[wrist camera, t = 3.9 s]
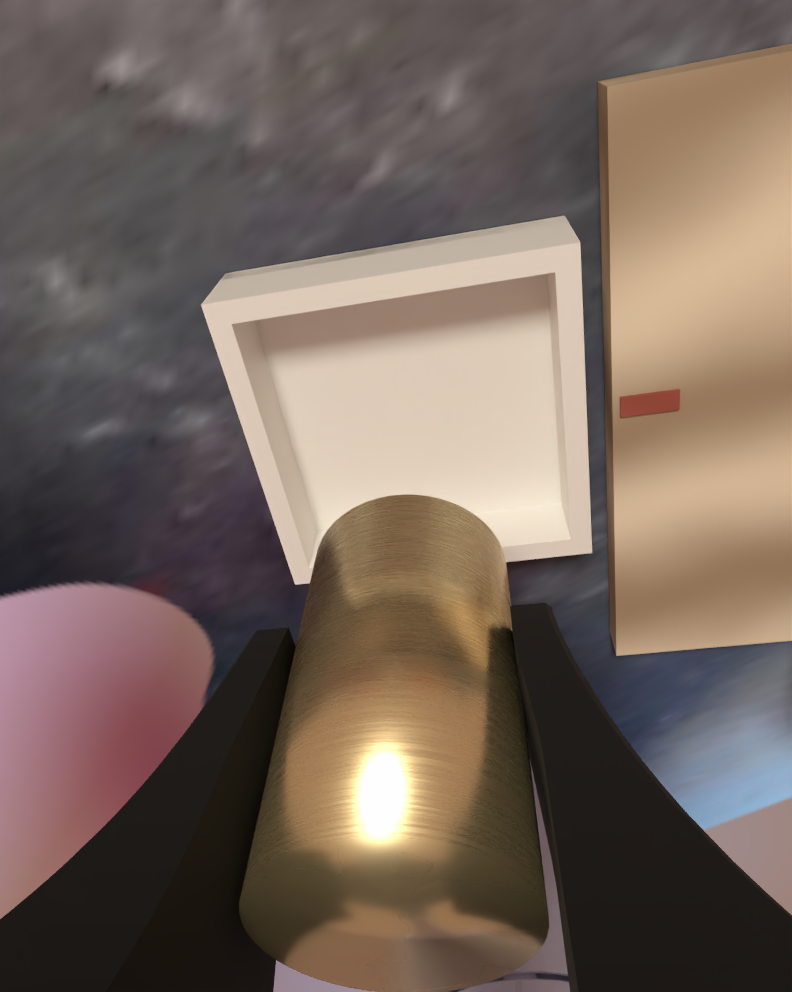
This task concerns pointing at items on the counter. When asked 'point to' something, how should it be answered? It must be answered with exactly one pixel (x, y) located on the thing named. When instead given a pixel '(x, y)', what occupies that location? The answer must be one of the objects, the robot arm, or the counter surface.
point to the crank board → (698, 351)
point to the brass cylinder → (401, 765)
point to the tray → (417, 384)
